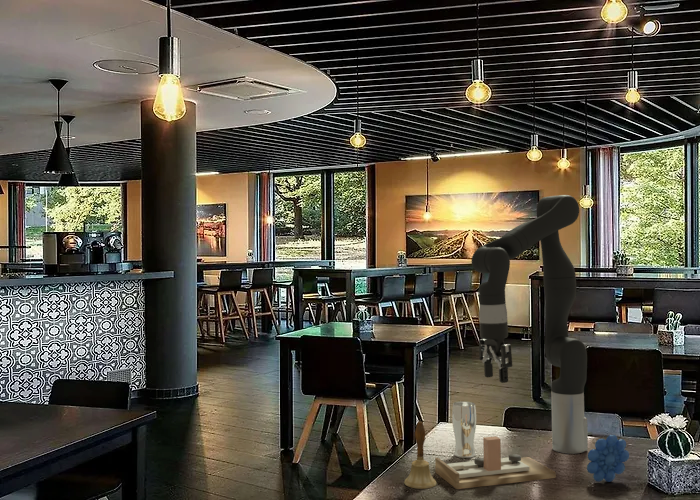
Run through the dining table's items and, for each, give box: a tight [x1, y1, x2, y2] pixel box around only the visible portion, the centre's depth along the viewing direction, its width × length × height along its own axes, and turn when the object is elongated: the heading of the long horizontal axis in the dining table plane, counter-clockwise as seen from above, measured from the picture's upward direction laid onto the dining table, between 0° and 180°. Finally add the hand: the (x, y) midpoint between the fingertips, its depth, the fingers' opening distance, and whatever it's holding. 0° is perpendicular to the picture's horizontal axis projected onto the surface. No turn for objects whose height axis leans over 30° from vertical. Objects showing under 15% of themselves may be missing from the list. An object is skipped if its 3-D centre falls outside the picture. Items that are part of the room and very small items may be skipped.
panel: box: [446, 435, 530, 478], centre depth 186 cm, size 21×9×9 cm, turn 105°
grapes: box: [586, 434, 630, 483], centre depth 181 cm, size 12×7×12 cm, turn 101°
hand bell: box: [403, 420, 437, 490], centre depth 181 cm, size 8×8×16 cm
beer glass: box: [451, 400, 477, 459], centre depth 205 cm, size 7×7×15 cm
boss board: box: [434, 453, 557, 490], centre depth 187 cm, size 28×14×4 cm, turn 105°
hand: (496, 379), depth 192 cm, fingers open, 8 cm apart
